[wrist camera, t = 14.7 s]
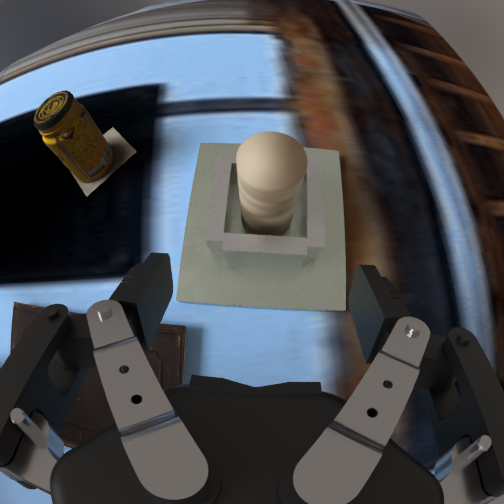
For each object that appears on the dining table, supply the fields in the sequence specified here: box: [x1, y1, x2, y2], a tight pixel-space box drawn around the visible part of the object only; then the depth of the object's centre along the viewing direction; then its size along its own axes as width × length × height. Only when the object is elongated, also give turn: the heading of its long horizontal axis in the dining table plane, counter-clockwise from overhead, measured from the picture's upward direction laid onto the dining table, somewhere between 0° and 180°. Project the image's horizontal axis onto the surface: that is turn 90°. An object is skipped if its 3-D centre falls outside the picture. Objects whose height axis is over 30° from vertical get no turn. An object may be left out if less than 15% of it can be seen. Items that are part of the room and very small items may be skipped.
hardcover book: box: [10, 302, 186, 449], centre depth 25 cm, size 16×23×2 cm
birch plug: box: [236, 132, 308, 236], centre depth 25 cm, size 5×5×10 cm
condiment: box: [34, 91, 137, 196], centre depth 28 cm, size 7×8×12 cm
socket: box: [176, 143, 346, 312], centre depth 28 cm, size 16×18×5 cm
